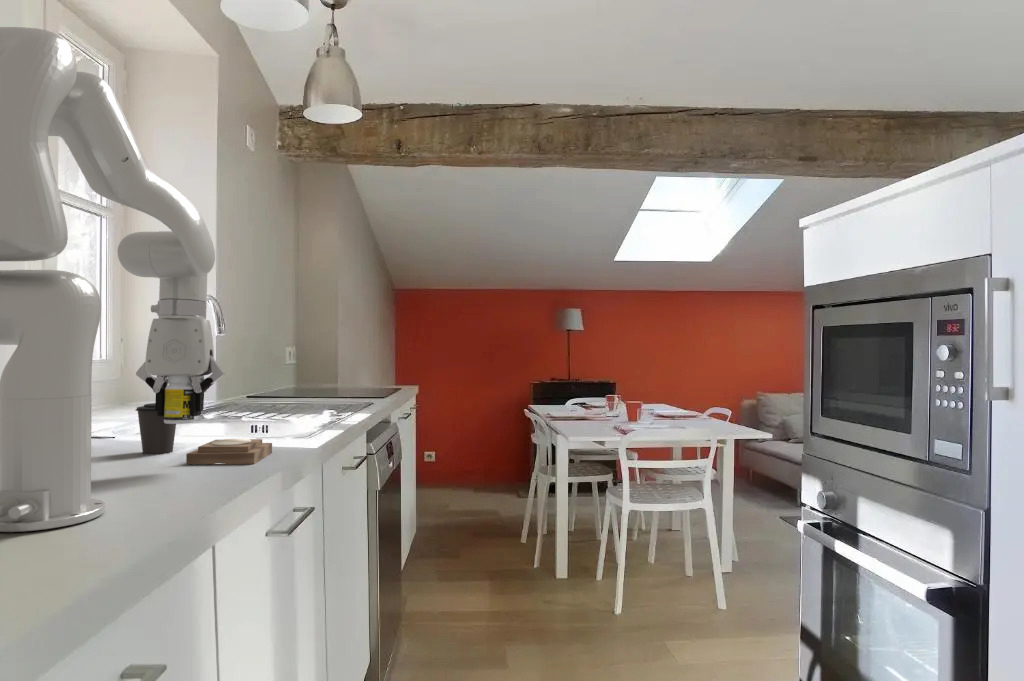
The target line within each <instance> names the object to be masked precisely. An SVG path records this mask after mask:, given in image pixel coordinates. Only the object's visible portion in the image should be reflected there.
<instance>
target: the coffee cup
mask: <svg viewBox="0 0 1024 681" xmlns="http://www.w3.org/2000/svg"><path fill="white" fill-rule="evenodd" d="M135 411H136V412H137V416H138V417H137V418H138V424H139V432H140V439H141V442H140V443H141V448H142V454H143V453H145V454H144V455H146V454H158V455H165V454H164V453H167V454H171V453H173V451H174V446H175V435H176V427H177V424H166V423H164V416H157V411H156V410H155V402H153V403H145V404H143V405H141V406H137V407H136V408H135ZM170 452H171V453H170Z"/></svg>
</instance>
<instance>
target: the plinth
mask: <svg viewBox="0 0 1024 681" xmlns="http://www.w3.org/2000/svg"><path fill="white" fill-rule="evenodd" d="M271 454H273V443H272V442H263V438H260V439H259V438H256V439H255V438H251V439H249V438H227V439H226V438H225V439H214V440H212V441H209V442H207V443H204V444H202V445H200V446H198V448H197V449H195V450H192V451H190V452H188V453H186V455H185V456H186V459H185V462H186V464H212V465H215V464H214V463H226V464H225V465H255V464H256V463H258V462H259V461H261V460H263V459H265V458H266V457H267V456H269V455H271Z"/></svg>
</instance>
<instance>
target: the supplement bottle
mask: <svg viewBox="0 0 1024 681" xmlns="http://www.w3.org/2000/svg"><path fill="white" fill-rule="evenodd" d="M168 383H169V384H168V386H167V387H166V388H165V406H164V423H166V424H176V425H177V424H179V425H180V424H193V423H194V422H195V416H191V415H190V396H191V393H193V390H194V388H193V384H192V380H191V376H168Z"/></svg>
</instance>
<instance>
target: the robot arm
mask: <svg viewBox="0 0 1024 681" xmlns="http://www.w3.org/2000/svg"><path fill="white" fill-rule="evenodd" d="M77 68H78V66H77V60H76V55H75V53H74V50H73V49H72V46H71V45H70V43H69V42H67V40H66V39H64V37H62V36H61V35H59V34H57V33H55V32H53V31H49V30H46V29H41V28H35V27H22V26H19V27H18V26H0V262H34V261H35V262H36V261H43V260H48V259H52V258H54V257H57V256H59V255H60V254H61V253H62V252H63V251H64V250H65V248H66V247H67V244H68V239H69V237H68V235H69V234H68V233H69V232H68V226H67V220H66V214H65V211H64V206H63V203H62V199H61V195H60V191H59V187H58V184H57V179H56V175H55V171H54V168H53V163H52V159H51V155H50V154H51V153H50V149H49V137H60V138H62V139H63V142H64V143H65V144H66V146H67V148H68V149H69V152H70V153H71V155H72V157H73V158H74V160H75V162H76V164H77V166H78V168H79V169H80V171H81V173H82V175H83V177H84V178H85V181H86V182H87V184H88V185H89V188H90V189H91V190H92V191H94V193H96V194H97V195H99V196H101V197H103V198H105V199H107V200H109V201H113V202H115V203H117V204H120V205H123V206H125V207H128V208H131V209H133V210H137V211H139V212H142V213H143V214H146V215H148V216H151V217H152V218H154V219H156V220H158V221H159V222H161V223H162V224H163V225H165V226H166V227H167V228H168V229H169V230H170V231H163V230H159V231H137V232H133V233H129V234H127V235H125V236H124V237H123V238H122V239H120V242H119V244H118V246H117V258H118V262H119V263H120V265H121V266H122V268H124V270H125V271H127V272H128V273H130V274H132V275H134V276H136V277H140V278H153V279H154V278H155V279H159V291H158V293H159V295H158V300H157V304H151V306H150V312H151V313H155V314H157V315H156V316H157V317H158V318H152V321H151V325H150V329H149V332H148V333H149V334H148V337H147V338H148V339H147V343H146V351H145V361H144V362H143V363H142V365H141V366H140V367H139V368H138V370H137V371H136V372H135V375H136V376H137V377H138V378H140V379H141V380H142V381H144V382H145V383H146V385H147V386H148V387H150V388H151V389H152V391H153V393H155V402H154V403H155V410H156V411H157V416H164V406H165V388H166V387H167V386H168V385H169V383H168V376H191V380H192V385H193V388H194V390H193V393H191V396H190V415H191V416H194V417H200V416H201V414H202V412H203V411H204V405H205V404H204V403H205V402H204V401H205V398H204V397H205V393H206V392H207V391H208V390H209V388H210V387H211V386H212V385H214V384H215V383H216V382H217V381H219V380H220V379H221V378H223V377H224V376H225V375H226V374H225V371H224V370H223V369H222V368H221V366H220V364H218V362H217V361H216V360H215V353H214V352H215V351H214V337H213V331H212V325H211V320H208V319H207V297H208V274H209V273H210V272H211V271H212V269H213V268H214V265H215V261H216V251H215V246H214V242H213V239H212V236H211V235H210V232H209V230H208V227H207V225H206V222H205V220H204V217H203V216H202V214H201V212H200V210H199V209H198V207H197V206H196V205H195V204H194V203H193V202H192V201H191V200H190V199H189V198H188V197H187V196H186V195H185V194H183V193H182V192H181V191H180V190H179V189H177V188H176V187H175V186H174V185H172V183H170V182H168V180H165V178H163V177H162V176H160V175H158V174H156V172H154V171H153V170H152V169H151V168H150V166H149V164H148V162H147V161H146V158H145V156H144V153H143V151H142V149H141V148H140V145H139V143H138V141H137V139H136V137H135V134H134V132H133V130H132V128H131V126H130V124H129V122H128V119H127V117H126V116H125V113H124V111H123V109H122V107H121V104H120V103H119V101H118V98H117V95H116V94H115V93H114V90H113V89H112V87H111V86H110V84H108V82H107V81H105V79H103V78H101V77H100V76H98V75H97V74H93V73H91V72H90V73H89V72H85V71H77ZM101 316H102V301H101V296H100V294H99V291H98V290H97V288H96V287H95V285H94V284H93V283H91V282H90V281H89V279H87V278H85V277H83V276H81V275H79V274H77V273H73V272H70V271H66V270H54V269H13V270H12V269H10V270H9V269H1V270H0V346H2V345H3V346H7V345H8V346H12V345H14V346H15V345H16V348H15V350H14V352H13V353H12V354H11V356H10V357H9V359H8V361H7V363H6V364H5V366H4V368H3V370H2V372H1V376H0V532H1V533H2V532H3V533H15V532H16V533H19V532H21V533H22V532H33V531H35V532H36V531H43V530H44V531H45V530H49V529H50V530H51V529H56V528H62V527H67V526H73V525H77V524H81V523H84V522H88V521H91V520H93V519H95V518H98V517H100V516H101V515H103V514H104V513H105V511H106V504H105V502H104V501H103V500H100V499H96V498H92V373H93V358H94V350H95V343H96V337H97V333H98V330H99V325H100V322H101V321H100V320H101ZM155 376H156V377H155ZM205 376H208V377H206V378H205Z"/></svg>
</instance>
